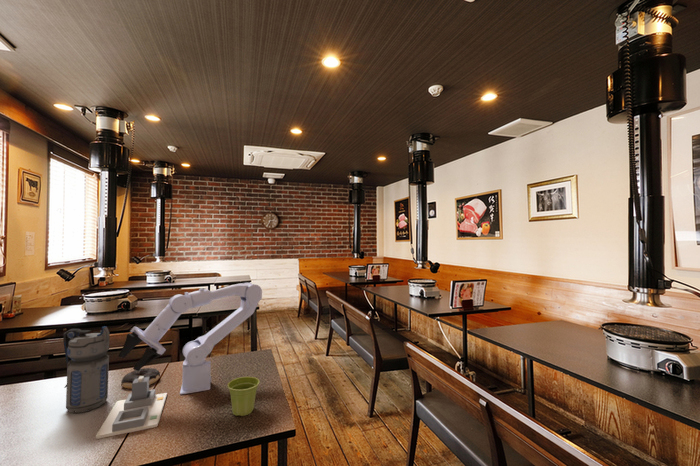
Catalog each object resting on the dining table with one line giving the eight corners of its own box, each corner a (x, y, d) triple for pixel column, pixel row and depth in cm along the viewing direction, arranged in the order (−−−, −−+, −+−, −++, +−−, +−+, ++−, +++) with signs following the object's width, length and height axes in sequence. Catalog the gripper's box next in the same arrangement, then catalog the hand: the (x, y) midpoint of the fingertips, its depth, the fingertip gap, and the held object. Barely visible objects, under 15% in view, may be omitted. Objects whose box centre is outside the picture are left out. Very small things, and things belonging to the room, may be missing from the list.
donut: (126, 379, 118) (126, 369, 118) (162, 374, 123) (162, 364, 123) (117, 392, 108) (118, 380, 108) (157, 386, 113) (157, 375, 113)
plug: (148, 398, 102) (149, 374, 102) (146, 403, 98) (147, 379, 99) (134, 400, 100) (134, 376, 101) (131, 406, 97) (132, 381, 97)
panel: (167, 395, 106) (167, 386, 106) (157, 426, 88) (157, 416, 88) (117, 403, 100) (117, 394, 100) (95, 439, 82) (96, 428, 82)
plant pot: (250, 400, 103) (250, 373, 103) (264, 411, 96) (265, 383, 96) (221, 410, 96) (222, 382, 96) (235, 423, 89) (235, 393, 90)
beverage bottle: (76, 398, 103) (78, 323, 104) (117, 397, 104) (119, 322, 105) (47, 415, 93) (51, 331, 94) (93, 414, 94) (96, 331, 95)
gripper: (138, 312, 104) (105, 349, 99) (167, 334, 100) (134, 374, 94) (151, 318, 110) (121, 352, 105) (179, 338, 106) (148, 376, 100)
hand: (128, 363), depth 100 cm, fingers open, 7 cm apart
